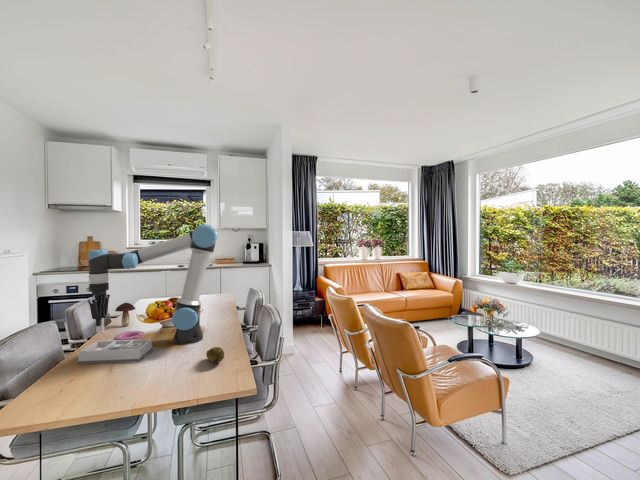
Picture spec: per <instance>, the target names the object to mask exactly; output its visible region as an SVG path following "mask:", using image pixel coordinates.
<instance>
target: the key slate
mask: <svg viewBox="0 0 640 480" xmlns="http://www.w3.org/2000/svg"><path fill="white" fill-rule="evenodd" d="M124 345H125V344H114V345H113V346H111V347H110V348H109V350H116V349H120V348H121V347H123V346H124Z"/></svg>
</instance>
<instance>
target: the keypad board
mask: <svg viewBox="0 0 640 480" xmlns="http://www.w3.org/2000/svg"><path fill="white" fill-rule="evenodd" d="M135 343H143V345H142V346H141V347H139V348H138V349H127V347H128V346H130V345H131V344H135ZM114 344H125V345H124V346H123V347H121V348H120V349H116V350H109V348H110V347H111V346H113V345H114ZM103 347H104V348H103ZM96 348H102V349H101V350H94V349H96ZM153 350H154V349H153V339H151V338H149V339H145V338H144V339H142V340H113V339H112V340H97V341H95V342H93V343H91V344H89V345H87V346H85V347H84V348H82V349H80V350H78V353H77V354H78V360H77V365H86V364H87V365H90V364H113V363H114V364H115V363H116V364H117V363H135V362H136V363H138V362H140V361H141V360H143V359H144V358H145V357H147V355H149V354H150V353H152V351H153Z"/></svg>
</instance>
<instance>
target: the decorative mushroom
mask: <svg viewBox="0 0 640 480" xmlns="http://www.w3.org/2000/svg"><path fill="white" fill-rule="evenodd" d="M135 310H136V307H135V306H134V305H133V304H132V303H129V302H124V303H122V304H119V305H118V306H117V307H116V309H115V310H114V311H115V312H122V315H121V325H122V327H128V326H129V325H130V314H129V312H130V311H135Z"/></svg>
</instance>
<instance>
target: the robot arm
mask: <svg viewBox="0 0 640 480" xmlns="http://www.w3.org/2000/svg"><path fill="white" fill-rule="evenodd" d="M217 240H218V232H217V230H216V229H215V227H213V225H210V224H205V223H203V224H200V225H197V226H196V227H195V228H194V229H193V230H190V231H188V233H187V234H185V235H181V236H177V237H175V238H171V239H168V240H165V241H161V242H158V243H155V244H151V245H148V246H144V247H142V248H139V249H135V250H131V251H128V252H121V253H109V251H108V249H93V250H92V249H91V250H89V251H88V253H87V254H88V256H87V258H88V259H87V262H88V283H89V284H88V291H89V292H90V293H91V298H90V299H88V300H87V302H88V305H89V309H90V314H91V318H92V320H95V328H96V329H95V330H96V334H98V333H99V334H100V333H105V318H107V317H108V316H107V315H108V309H109V300H110V296H111V294H107V291H108V290H109V289H110V286H109V285H110V283H109V281H110V279H109V278H110V277H109V276H110V275H109V270H130V269H136V268H137V267H138V265H141V264H143V263H146V262H147V263H148V262H149V261H152V260H156V259H160V258H163V257H166V256H168V255H173V254H175V253H179V252H183V251H185V250H188V249H190V250H191V256H190V260H189V264H188V267H187V272H186V276H185V279H184V284H183V289H182V293H181V297H180V298H178V299H177V300H176V303H175V308H174V313H173V314H172V315H171V321H172V324H173V326H174V327H175V332H174V335H173V343H175V344H177V345H188V344H189V345H190V344H195V343H197V342H200V341H202V340H203V339H204V333H203V330H202V328H201V325H200V324H201V320H200V319H201V317H200V315H201V305H202V303H201V300H200V297H201V293H202V288H203V284H204V279H205V276H206V272H207V267H208V264H209V263H208V262H209V259H210V256H211V254H213V253H214V252H215V246H216V242H217Z"/></svg>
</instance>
